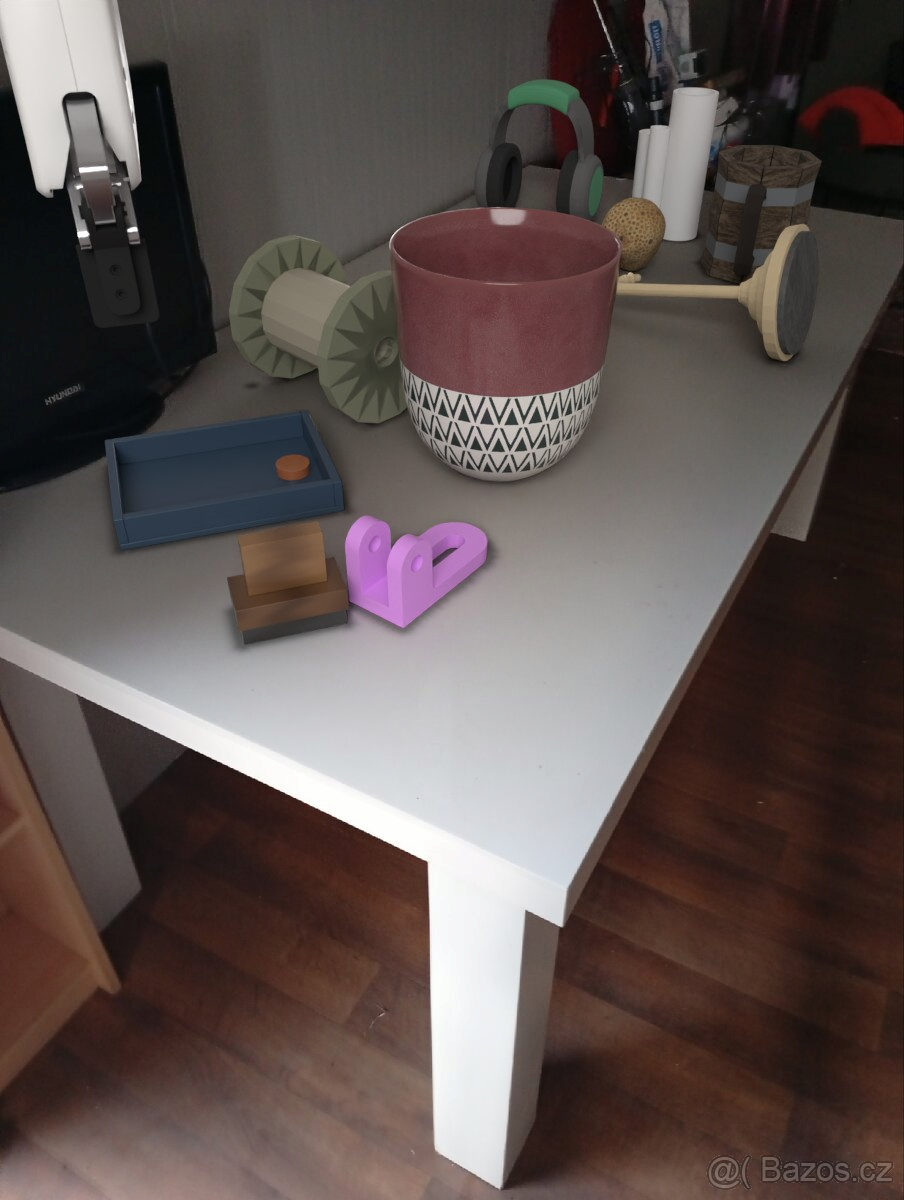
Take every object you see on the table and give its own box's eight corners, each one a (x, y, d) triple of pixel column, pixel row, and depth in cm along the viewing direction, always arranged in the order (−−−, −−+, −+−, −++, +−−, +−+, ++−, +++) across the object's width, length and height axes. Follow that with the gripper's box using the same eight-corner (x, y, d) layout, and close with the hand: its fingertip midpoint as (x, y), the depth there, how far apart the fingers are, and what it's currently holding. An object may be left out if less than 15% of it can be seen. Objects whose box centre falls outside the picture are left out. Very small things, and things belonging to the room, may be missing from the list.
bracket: (403, 628, 73) (400, 555, 69) (349, 601, 76) (343, 528, 72) (499, 550, 81) (502, 480, 77) (448, 528, 84) (448, 459, 80)
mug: (707, 248, 143) (725, 140, 134) (800, 259, 140) (825, 149, 130) (684, 292, 129) (702, 175, 120) (786, 306, 125) (814, 186, 116)
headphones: (602, 218, 155) (616, 80, 143) (582, 237, 147) (594, 93, 135) (495, 204, 161) (499, 71, 149) (469, 222, 153) (471, 83, 141)
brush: (242, 647, 71) (226, 561, 67) (233, 612, 75) (217, 528, 70) (350, 624, 74) (343, 539, 69) (337, 591, 77) (329, 508, 72)
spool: (440, 396, 104) (439, 258, 95) (333, 442, 96) (321, 297, 87) (345, 351, 114) (335, 222, 104) (240, 390, 105) (219, 254, 96)
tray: (121, 550, 81) (113, 520, 79) (111, 468, 92) (104, 439, 90) (344, 510, 86) (341, 481, 84) (310, 436, 97) (307, 409, 95)
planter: (498, 400, 104) (505, 194, 90) (639, 467, 92) (671, 244, 79) (357, 460, 93) (342, 238, 80) (496, 545, 82) (505, 303, 69)
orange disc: (280, 483, 89) (279, 473, 88) (273, 466, 91) (272, 457, 91) (313, 477, 90) (312, 468, 89) (306, 461, 92) (305, 452, 91)
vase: (702, 231, 150) (724, 89, 137) (687, 244, 145) (710, 98, 132) (633, 220, 154) (650, 82, 142) (618, 233, 149) (633, 90, 137)
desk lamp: (829, 214, 111) (531, 219, 132) (728, 259, 86) (380, 256, 107) (816, 343, 118) (535, 328, 139) (720, 419, 93) (393, 387, 114)
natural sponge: (614, 285, 131) (622, 210, 125) (583, 265, 138) (590, 192, 131) (670, 277, 134) (681, 203, 128) (638, 257, 140) (646, 186, 134)
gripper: (-43, -106, 47) (48, 247, 57) (-74, -88, 34) (50, 362, 44) (115, -107, 49) (175, 235, 59) (142, -91, 36) (212, 342, 46)
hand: (121, 289), depth 52 cm, fingers open, 9 cm apart
